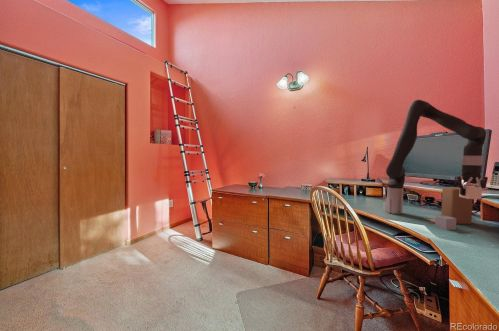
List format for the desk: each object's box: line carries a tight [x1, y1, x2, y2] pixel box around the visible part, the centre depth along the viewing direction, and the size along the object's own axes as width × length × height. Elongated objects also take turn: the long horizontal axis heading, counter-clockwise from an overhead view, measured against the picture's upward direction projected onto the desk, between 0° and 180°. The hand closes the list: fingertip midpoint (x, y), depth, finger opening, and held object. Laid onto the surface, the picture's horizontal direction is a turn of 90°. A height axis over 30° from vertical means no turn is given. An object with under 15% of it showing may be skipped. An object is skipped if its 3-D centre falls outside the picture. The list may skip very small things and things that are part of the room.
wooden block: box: [441, 186, 473, 225], centre depth 130 cm, size 10×10×20 cm
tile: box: [424, 218, 435, 224], centre depth 131 cm, size 8×8×1 cm
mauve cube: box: [434, 215, 457, 231], centre depth 119 cm, size 6×6×6 cm
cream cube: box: [459, 185, 483, 200], centre depth 118 cm, size 6×6×6 cm
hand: (469, 195), depth 118 cm, fingers closed on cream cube, 6 cm apart
